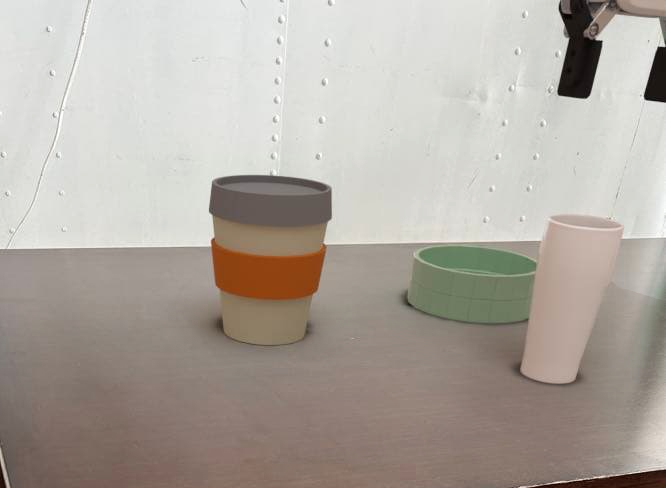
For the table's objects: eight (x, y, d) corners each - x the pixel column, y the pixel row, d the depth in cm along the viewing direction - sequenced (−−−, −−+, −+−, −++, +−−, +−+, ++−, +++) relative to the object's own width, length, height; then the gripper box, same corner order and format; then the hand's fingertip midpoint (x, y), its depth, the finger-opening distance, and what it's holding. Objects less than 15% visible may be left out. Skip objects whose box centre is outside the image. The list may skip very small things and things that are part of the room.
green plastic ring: (520, 297, 107) (530, 249, 104) (542, 333, 94) (555, 280, 91) (404, 288, 108) (410, 241, 104) (410, 323, 95) (418, 270, 92)
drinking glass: (553, 397, 77) (595, 231, 69) (497, 374, 82) (531, 216, 74) (595, 384, 81) (641, 225, 73) (539, 363, 85) (576, 211, 77)
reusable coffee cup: (246, 358, 82) (253, 199, 74) (186, 322, 91) (186, 177, 83) (344, 340, 88) (360, 192, 80) (278, 309, 97) (287, 172, 89)
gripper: (639, -200, 53) (569, 100, 62) (813, -157, 59) (726, 108, 68) (559, -181, 58) (505, 91, 67) (726, -144, 65) (656, 99, 74)
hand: (617, 99), depth 68 cm, fingers open, 9 cm apart
